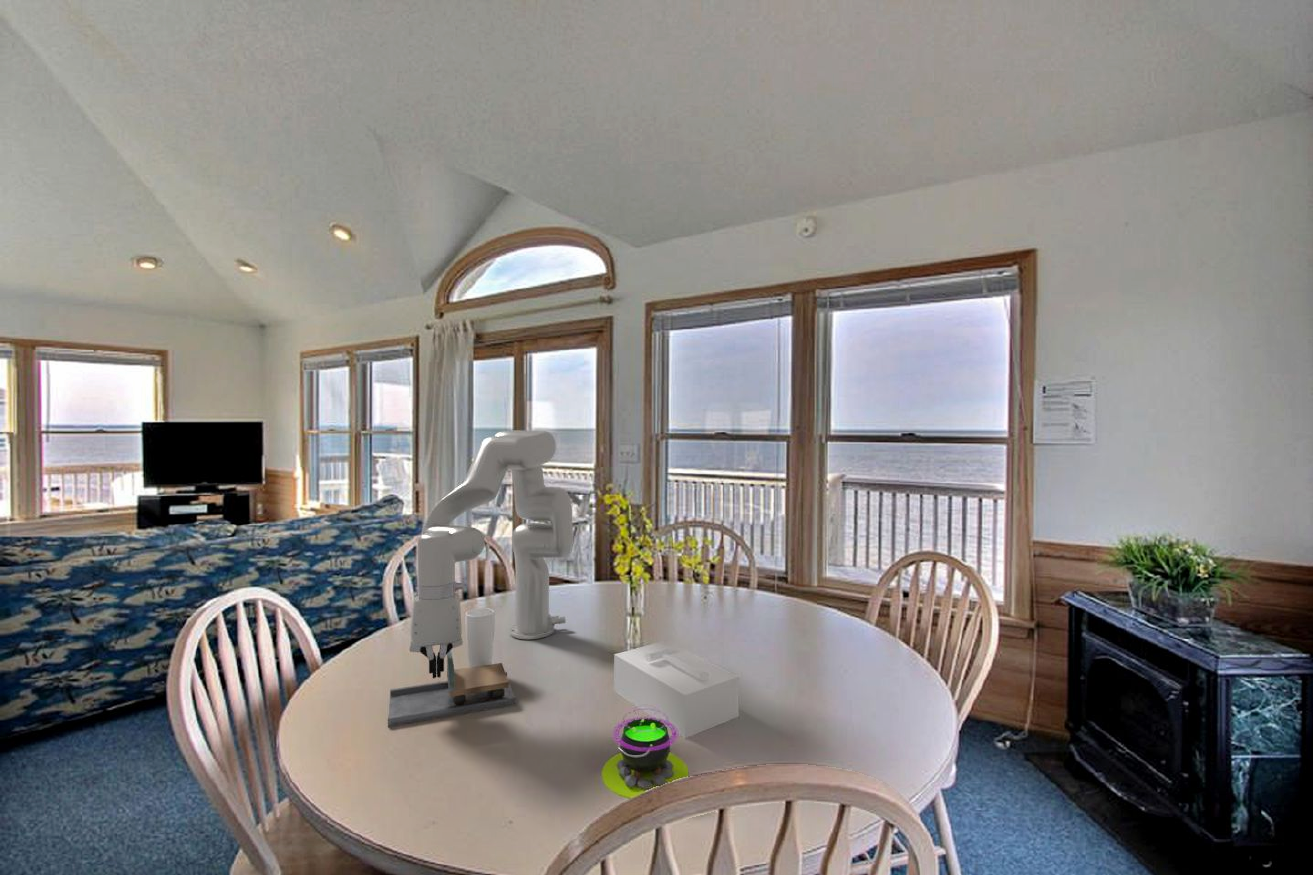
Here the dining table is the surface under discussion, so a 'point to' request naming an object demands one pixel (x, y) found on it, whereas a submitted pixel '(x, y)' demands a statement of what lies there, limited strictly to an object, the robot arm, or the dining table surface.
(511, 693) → the rail
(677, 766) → the toy cauldron
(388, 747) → the dining table surface
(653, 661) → the white hammer mold block
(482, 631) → the drinking glass
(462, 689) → the cart
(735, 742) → the dining table surface
